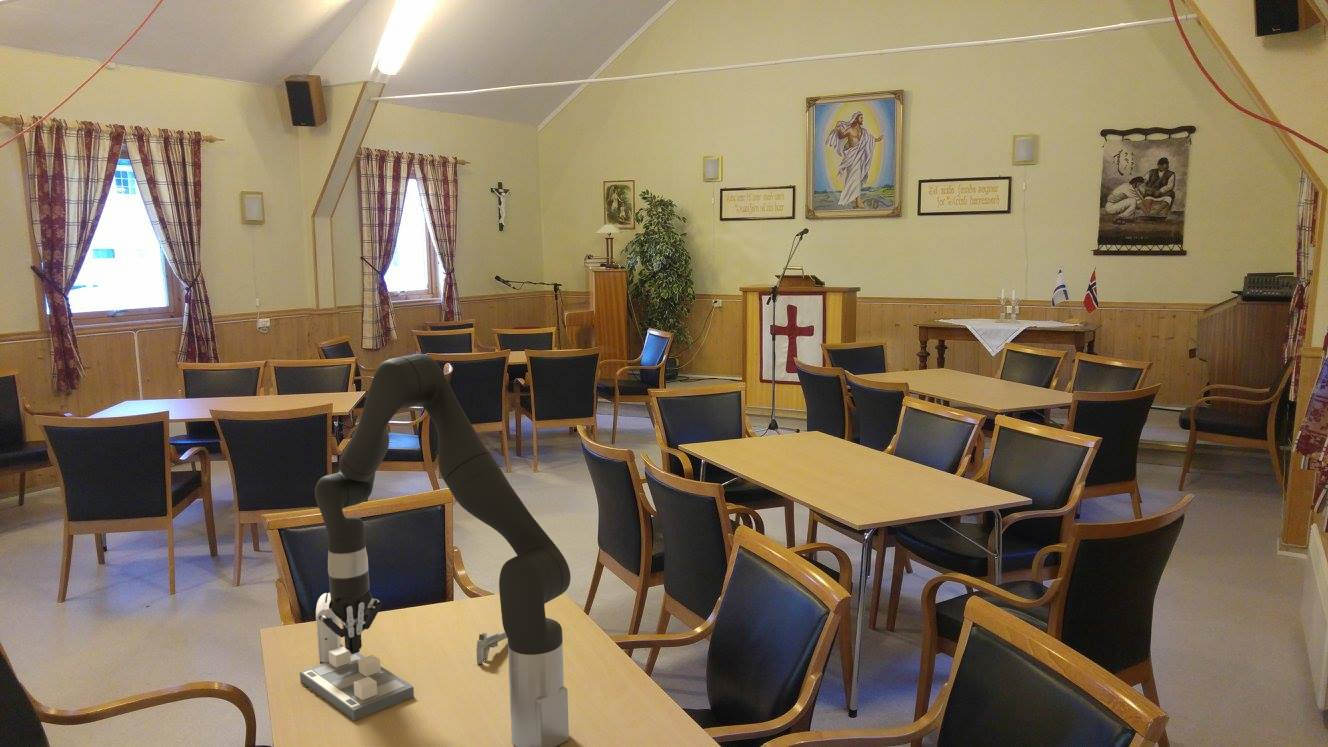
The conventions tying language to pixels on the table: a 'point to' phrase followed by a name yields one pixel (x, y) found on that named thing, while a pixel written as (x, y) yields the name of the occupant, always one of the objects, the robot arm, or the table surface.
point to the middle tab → (369, 665)
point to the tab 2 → (365, 688)
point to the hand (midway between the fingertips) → (354, 652)
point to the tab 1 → (339, 656)
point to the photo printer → (326, 630)
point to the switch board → (340, 687)
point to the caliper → (487, 644)
